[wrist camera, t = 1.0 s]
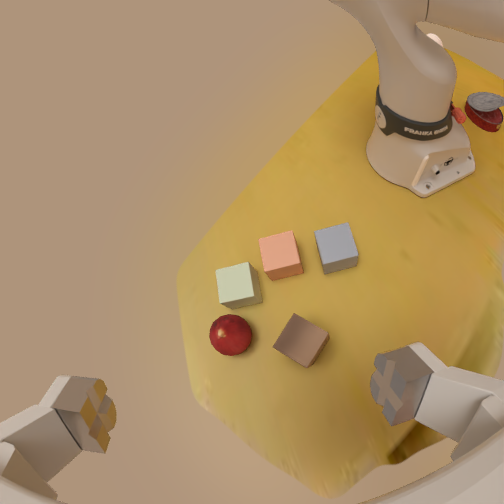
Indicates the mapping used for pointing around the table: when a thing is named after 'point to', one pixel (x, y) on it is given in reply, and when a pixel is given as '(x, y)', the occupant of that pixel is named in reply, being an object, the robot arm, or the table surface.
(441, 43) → the egg
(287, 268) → the cube terracotta
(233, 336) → the pomegranate
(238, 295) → the cube sage
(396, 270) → the table surface
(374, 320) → the table surface
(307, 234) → the table surface
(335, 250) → the cube slate
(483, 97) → the canned food
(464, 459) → the robot arm
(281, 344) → the block walnut
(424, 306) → the table surface
